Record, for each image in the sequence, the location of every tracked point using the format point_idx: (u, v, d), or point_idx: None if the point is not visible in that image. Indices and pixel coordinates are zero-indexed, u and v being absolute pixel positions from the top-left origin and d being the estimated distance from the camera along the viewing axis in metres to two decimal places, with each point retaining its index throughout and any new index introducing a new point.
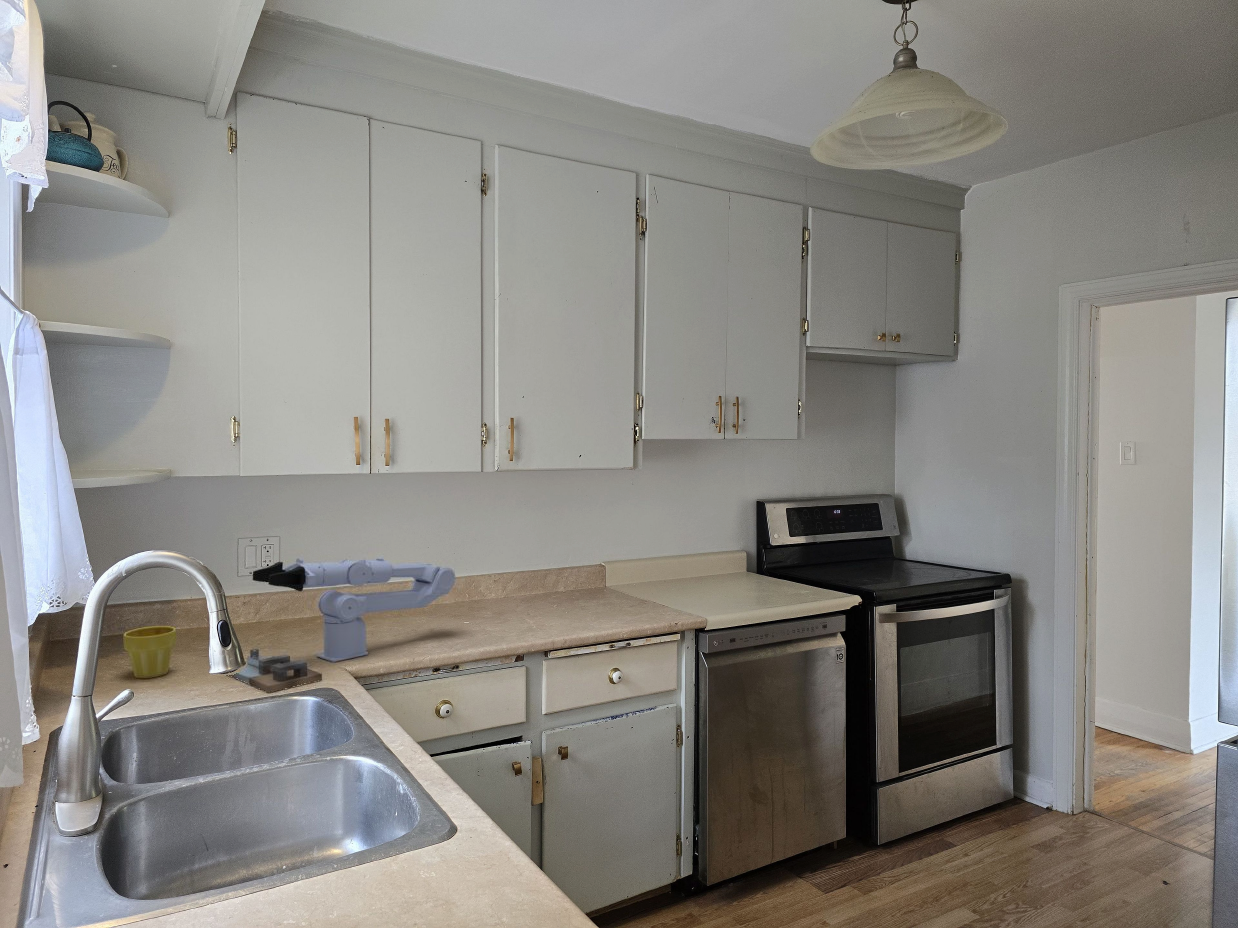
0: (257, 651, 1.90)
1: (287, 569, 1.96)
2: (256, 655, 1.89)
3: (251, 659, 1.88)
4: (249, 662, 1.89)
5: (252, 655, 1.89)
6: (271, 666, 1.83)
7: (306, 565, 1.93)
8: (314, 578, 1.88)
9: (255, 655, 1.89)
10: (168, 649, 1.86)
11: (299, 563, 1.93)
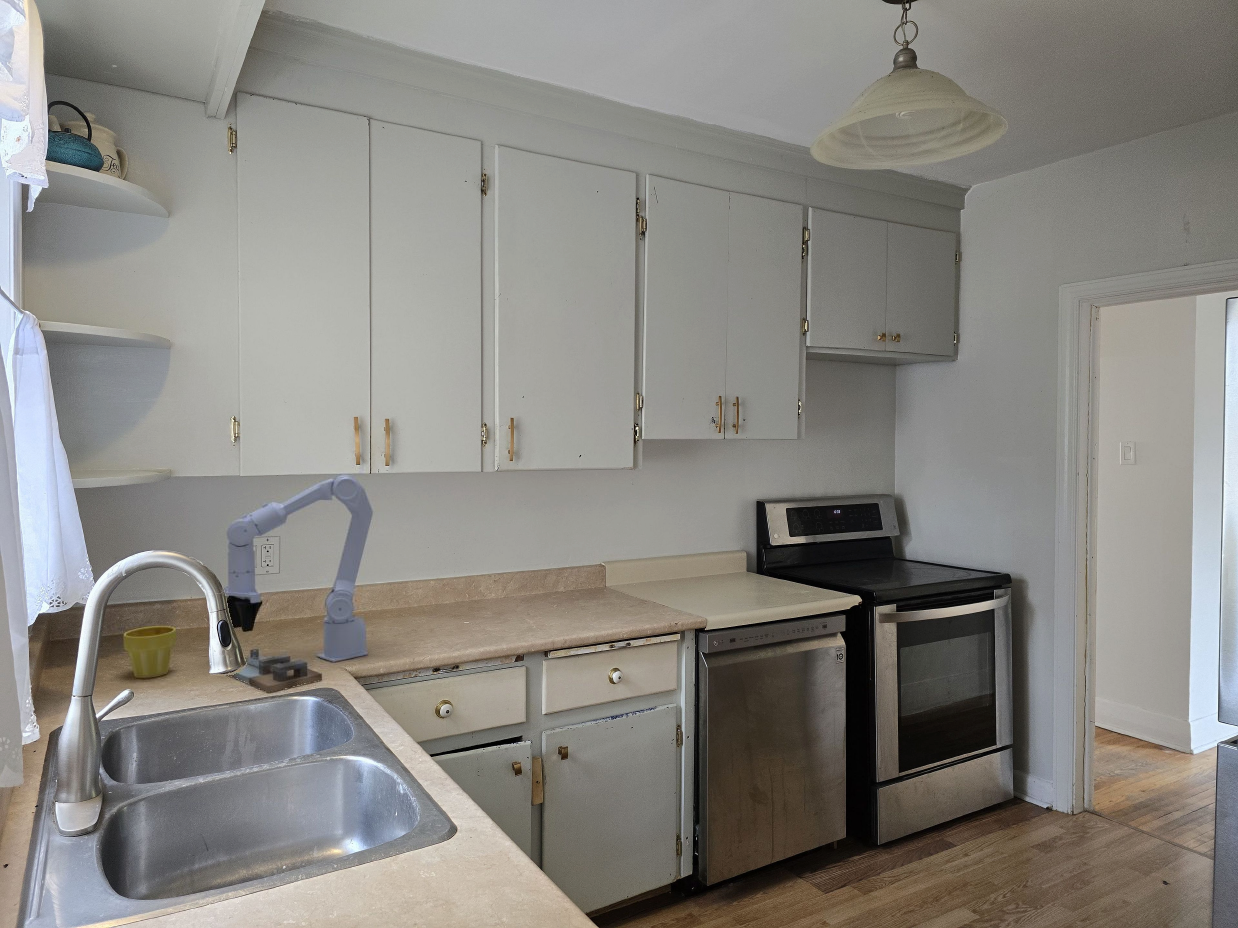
0: (257, 651, 1.90)
1: None
2: (256, 655, 1.89)
3: (251, 659, 1.88)
4: (249, 662, 1.89)
5: (252, 655, 1.89)
6: (271, 666, 1.83)
7: (233, 589, 1.91)
8: (255, 595, 1.88)
9: (255, 655, 1.89)
10: (168, 649, 1.86)
11: (230, 595, 1.91)
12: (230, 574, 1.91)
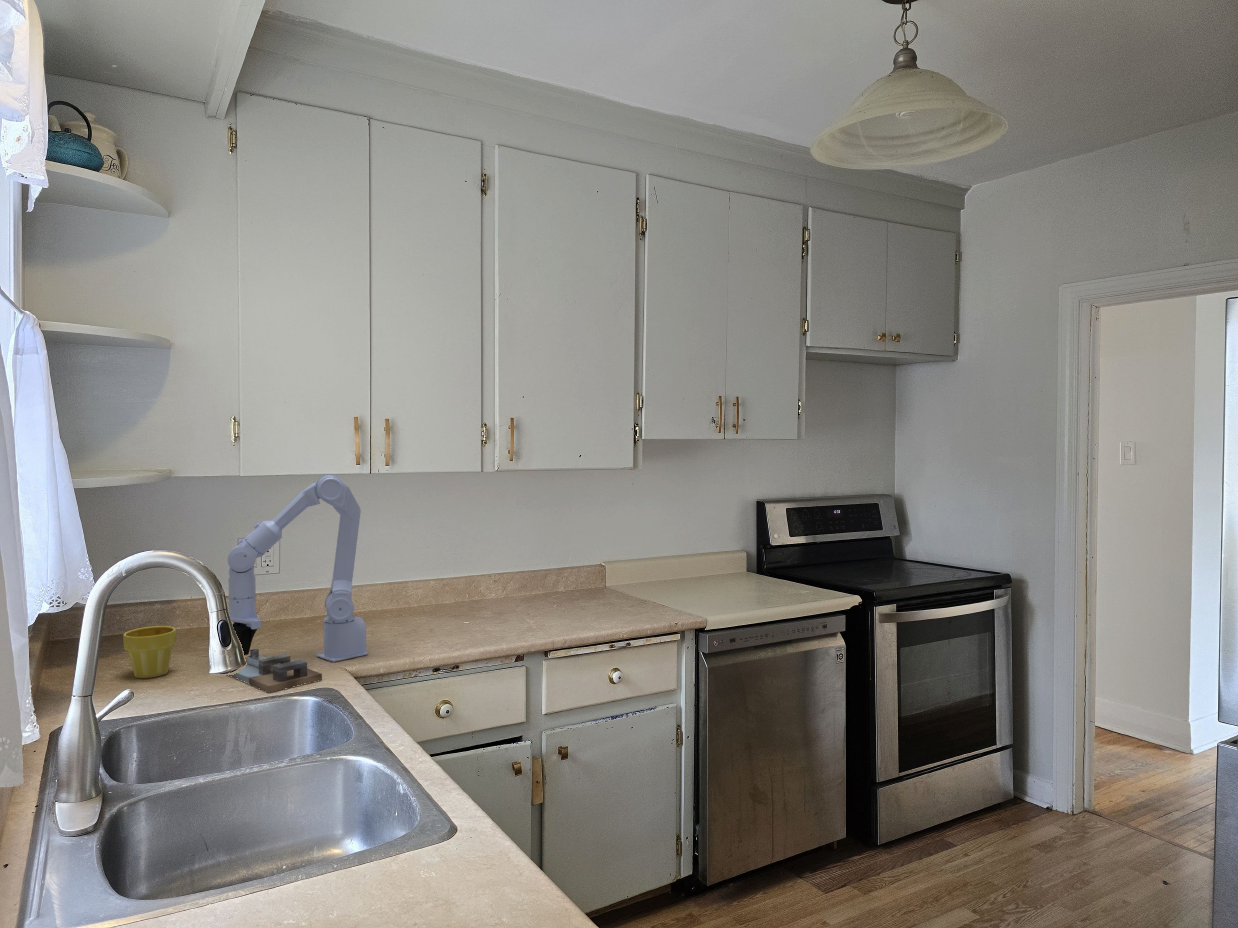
0: (257, 651, 1.90)
1: None
2: (256, 655, 1.89)
3: (251, 659, 1.88)
4: (249, 662, 1.89)
5: (252, 655, 1.89)
6: (271, 666, 1.83)
7: (234, 615, 1.91)
8: (255, 622, 1.89)
9: (255, 655, 1.89)
10: (168, 649, 1.86)
11: None
12: (231, 600, 1.91)
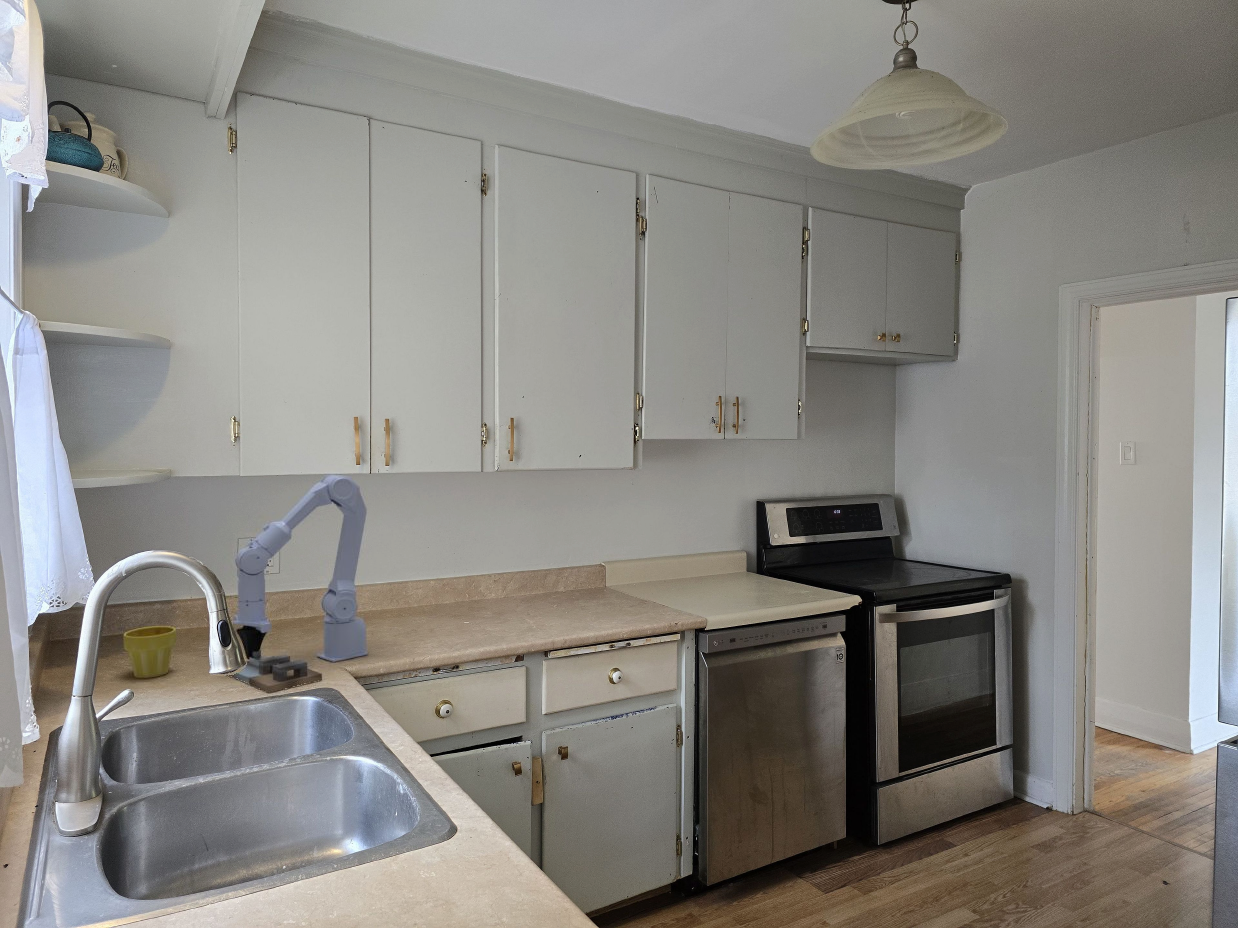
0: (259, 652, 1.89)
1: None
2: (258, 656, 1.89)
3: (253, 660, 1.88)
4: (251, 663, 1.88)
5: (254, 656, 1.88)
6: None
7: (243, 618, 1.88)
8: (265, 625, 1.85)
9: (257, 656, 1.89)
10: (168, 649, 1.86)
11: (240, 624, 1.88)
12: (240, 603, 1.88)
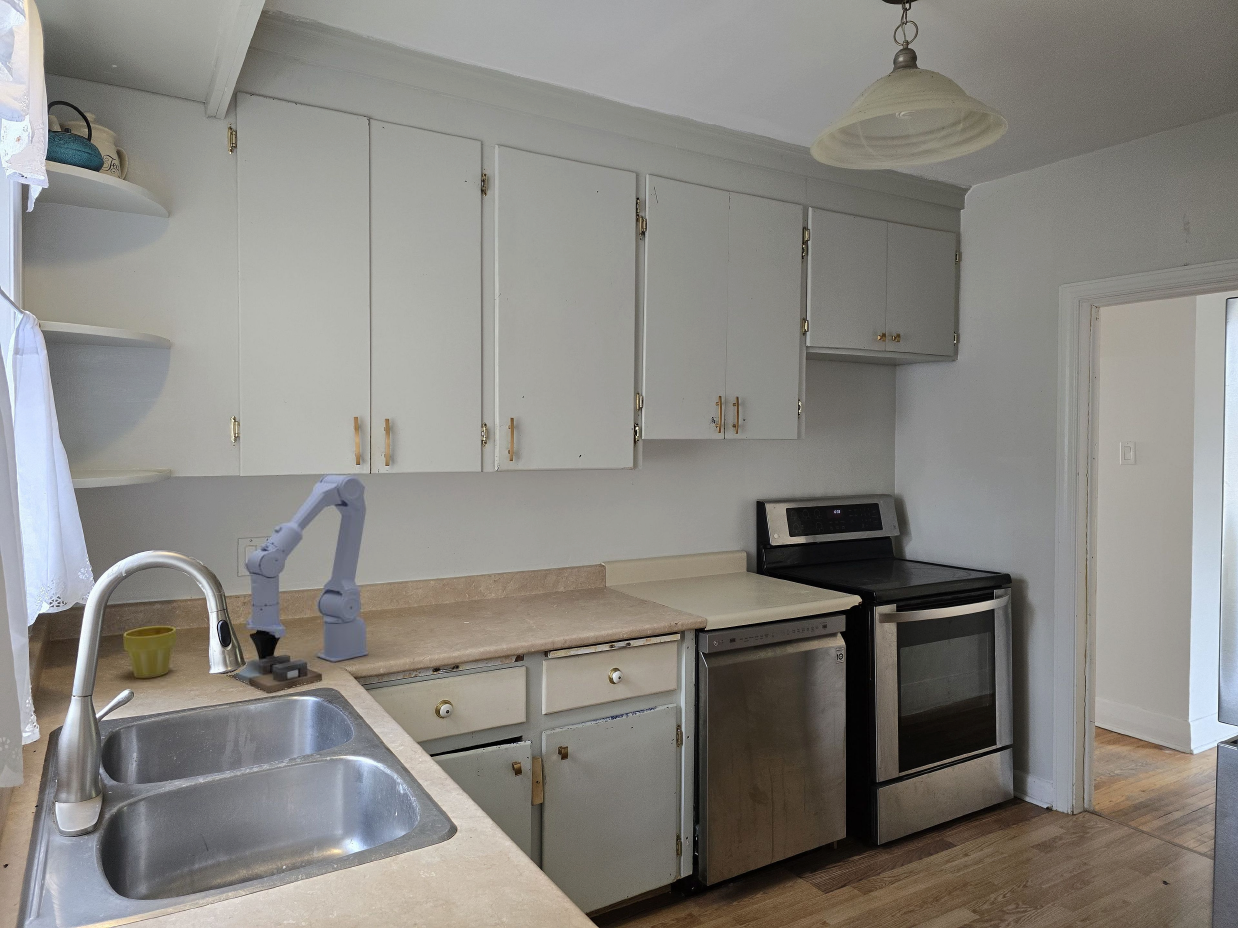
0: None
1: None
2: None
3: None
4: None
5: None
6: (288, 673, 1.78)
7: (257, 622, 1.83)
8: (280, 630, 1.81)
9: None
10: (168, 649, 1.86)
11: (254, 629, 1.83)
12: (254, 607, 1.83)
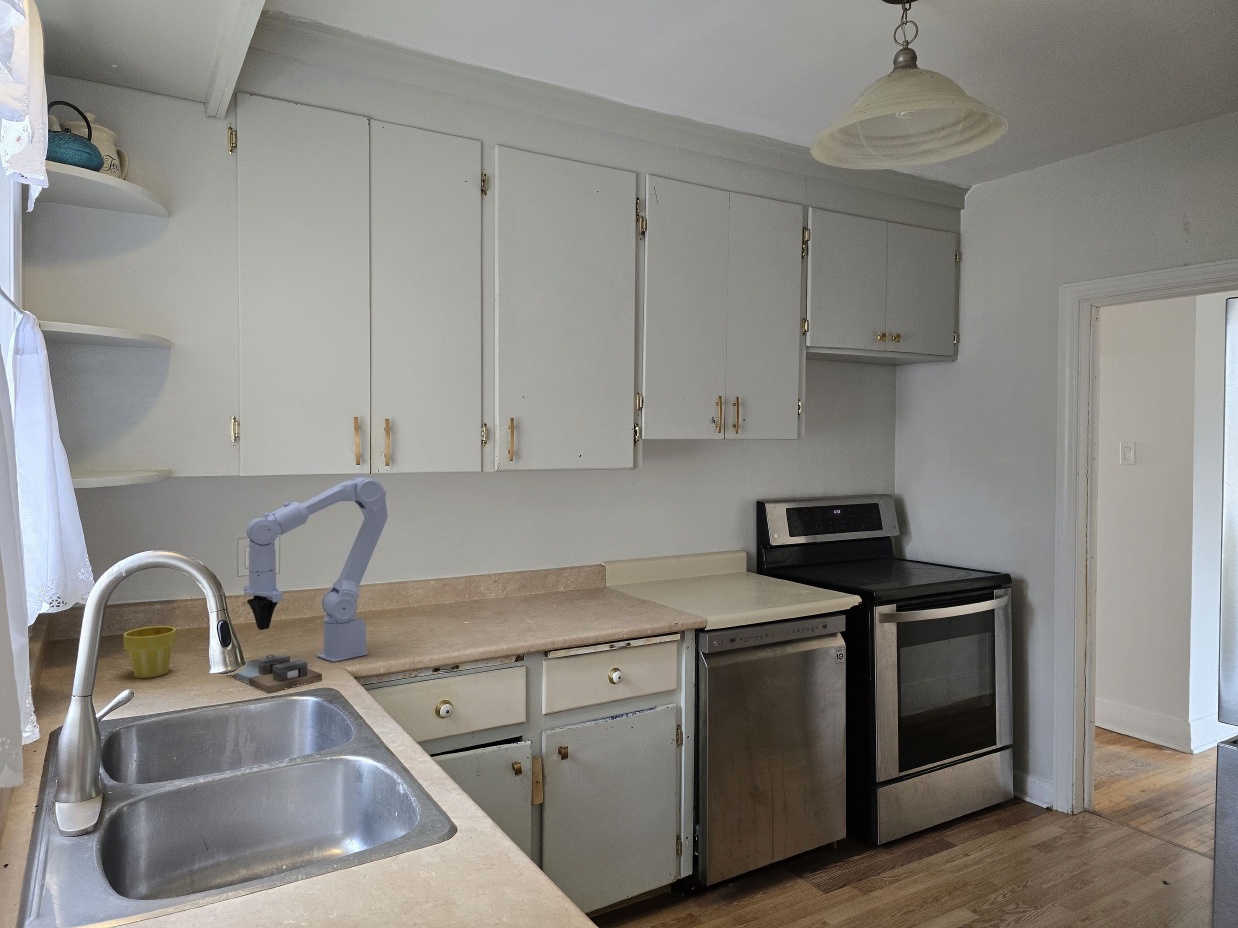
0: None
1: None
2: None
3: None
4: None
5: None
6: (288, 673, 1.78)
7: (254, 588, 1.89)
8: (277, 595, 1.87)
9: None
10: (168, 649, 1.86)
11: (251, 594, 1.89)
12: (251, 573, 1.89)
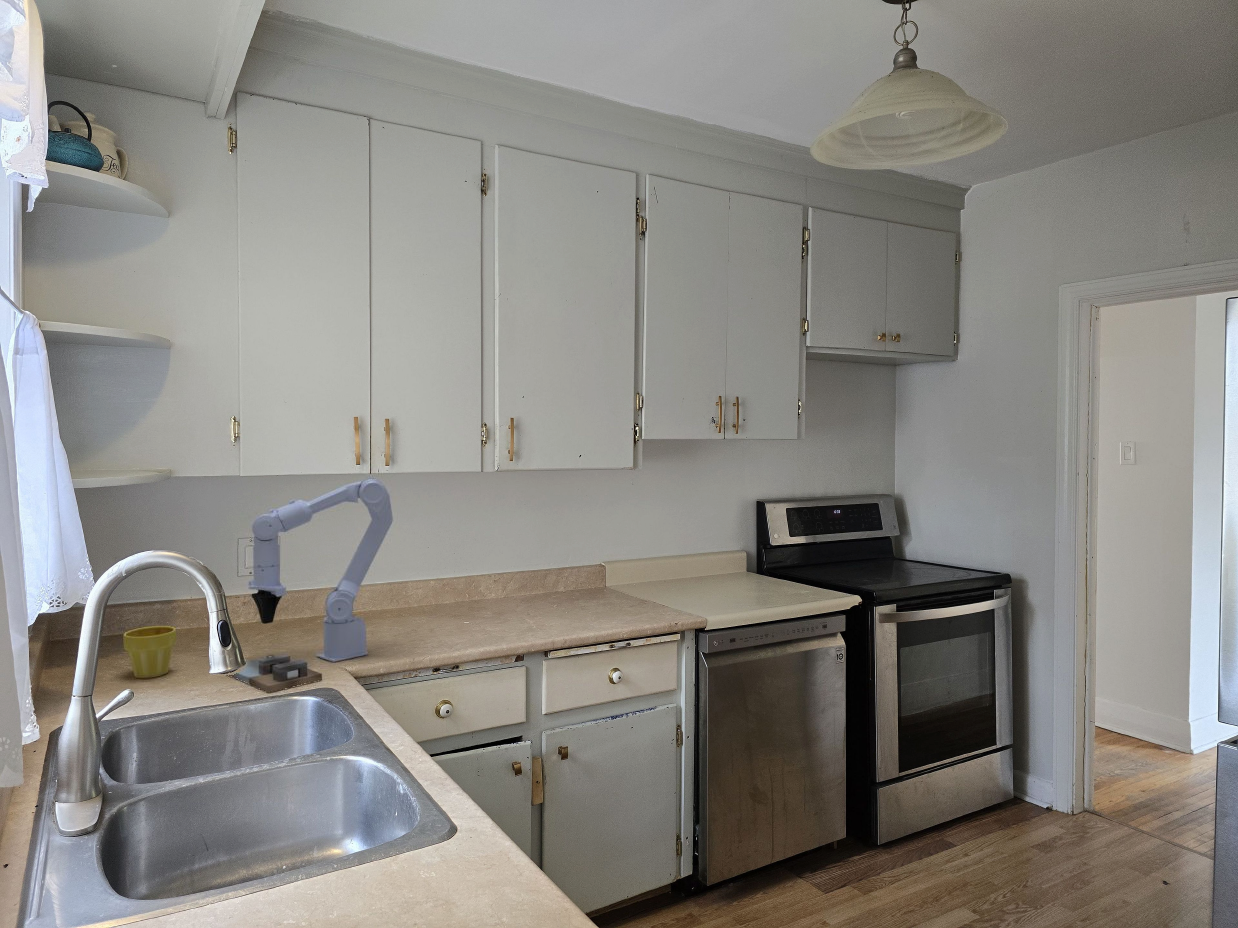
0: None
1: None
2: None
3: None
4: None
5: None
6: (288, 673, 1.78)
7: (258, 582, 1.93)
8: (280, 589, 1.91)
9: None
10: (168, 649, 1.86)
11: None
12: (255, 568, 1.93)
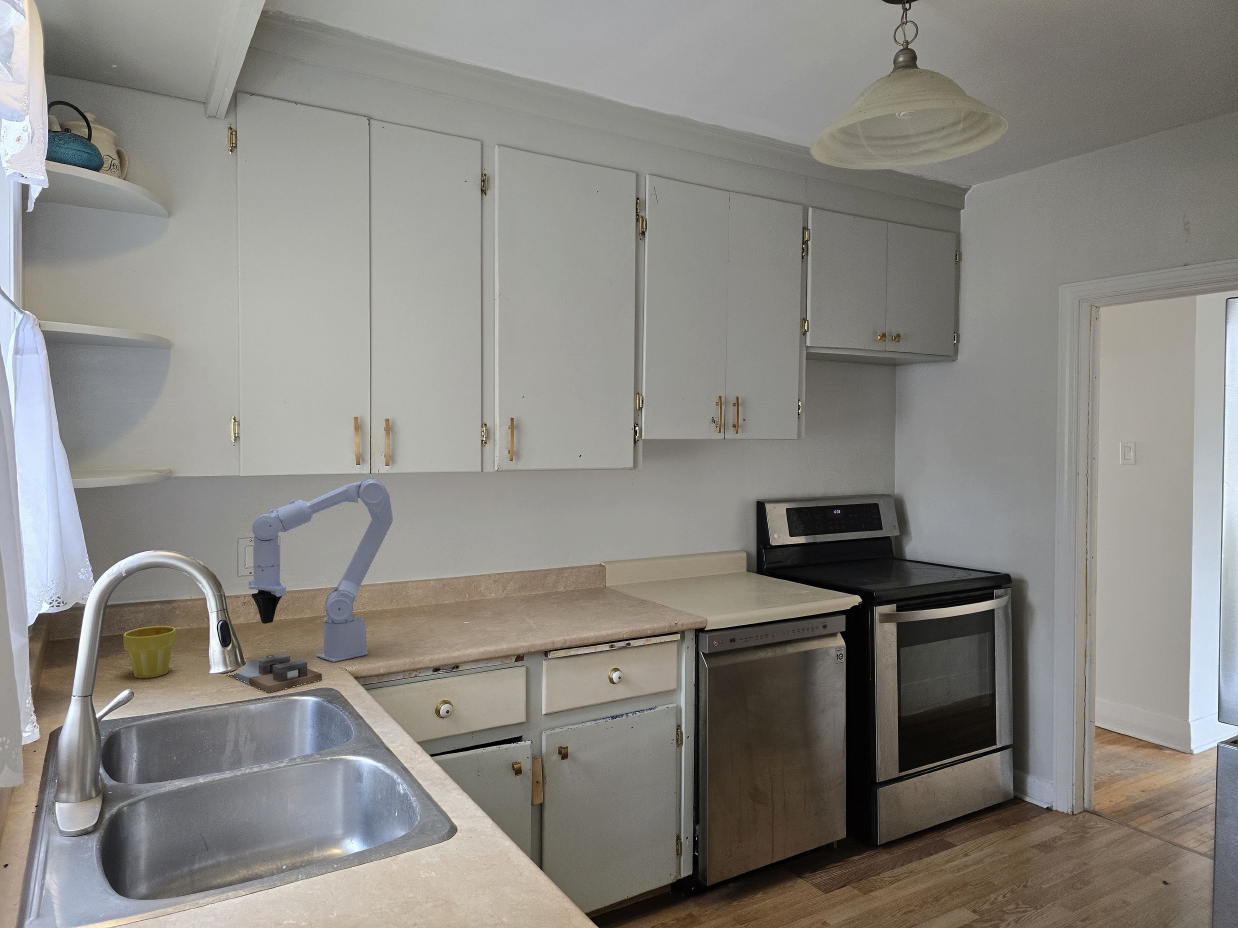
0: None
1: None
2: None
3: None
4: None
5: None
6: (288, 673, 1.78)
7: (258, 582, 1.93)
8: (280, 589, 1.91)
9: None
10: (168, 649, 1.86)
11: None
12: (255, 568, 1.93)
